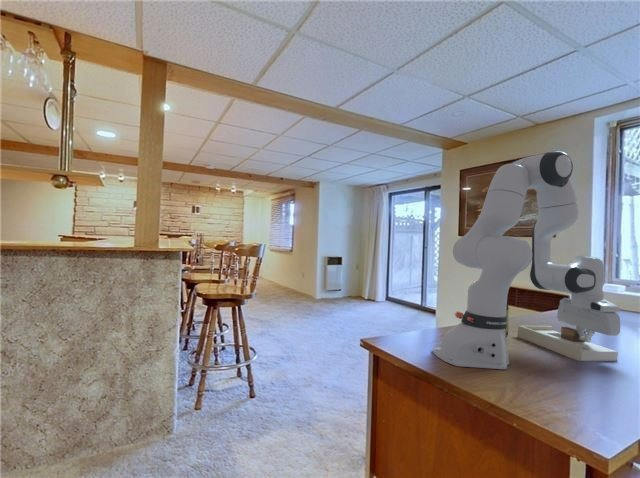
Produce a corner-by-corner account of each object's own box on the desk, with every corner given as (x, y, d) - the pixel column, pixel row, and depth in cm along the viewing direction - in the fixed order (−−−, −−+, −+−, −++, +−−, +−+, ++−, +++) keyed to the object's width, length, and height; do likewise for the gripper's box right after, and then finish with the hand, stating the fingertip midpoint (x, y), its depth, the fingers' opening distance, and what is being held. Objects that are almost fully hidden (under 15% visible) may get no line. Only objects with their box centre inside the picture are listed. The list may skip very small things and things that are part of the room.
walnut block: (573, 341, 117) (573, 330, 117) (560, 337, 122) (561, 327, 122) (585, 341, 117) (585, 330, 117) (572, 337, 122) (572, 327, 122)
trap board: (578, 360, 105) (579, 347, 105) (517, 336, 131) (518, 325, 131) (617, 360, 108) (617, 347, 108) (549, 336, 133) (550, 326, 133)
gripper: (553, 296, 125) (551, 332, 125) (608, 308, 104) (606, 350, 104) (567, 296, 126) (565, 332, 126) (625, 308, 105) (622, 350, 105)
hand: (584, 341), depth 115 cm, fingers closed
